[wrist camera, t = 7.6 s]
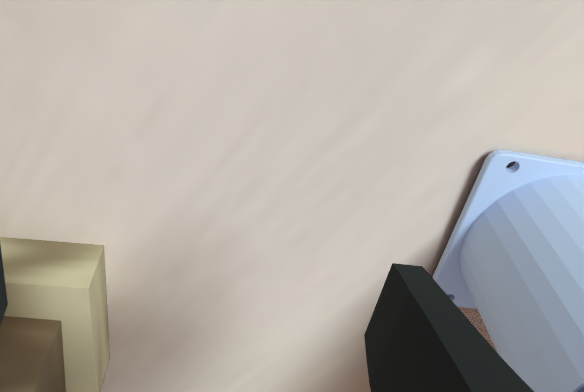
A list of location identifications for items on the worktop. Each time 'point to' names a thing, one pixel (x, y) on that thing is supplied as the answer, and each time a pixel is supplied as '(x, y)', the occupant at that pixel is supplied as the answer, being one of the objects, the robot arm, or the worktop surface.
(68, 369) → the oak block
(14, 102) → the worktop surface
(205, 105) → the worktop surface
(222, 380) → the worktop surface
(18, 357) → the walnut block
